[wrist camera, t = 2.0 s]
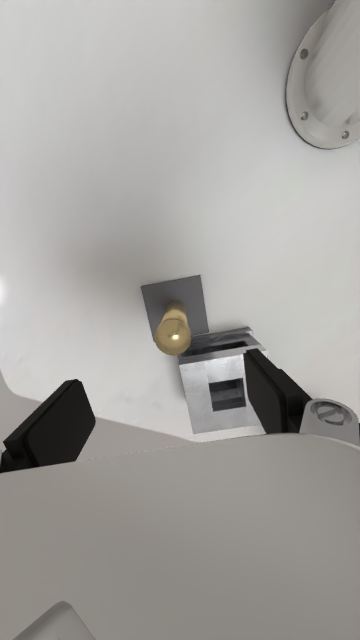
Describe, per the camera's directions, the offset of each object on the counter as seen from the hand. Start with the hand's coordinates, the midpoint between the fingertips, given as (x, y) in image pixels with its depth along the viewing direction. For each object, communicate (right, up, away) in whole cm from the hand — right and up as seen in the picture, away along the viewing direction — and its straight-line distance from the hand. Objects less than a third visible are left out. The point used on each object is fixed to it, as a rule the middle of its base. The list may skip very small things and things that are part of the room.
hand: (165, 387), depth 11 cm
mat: (0, +5, +19) cm, 20 cm away
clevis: (+7, -4, +21) cm, 23 cm away
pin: (0, +5, +18) cm, 19 cm away
